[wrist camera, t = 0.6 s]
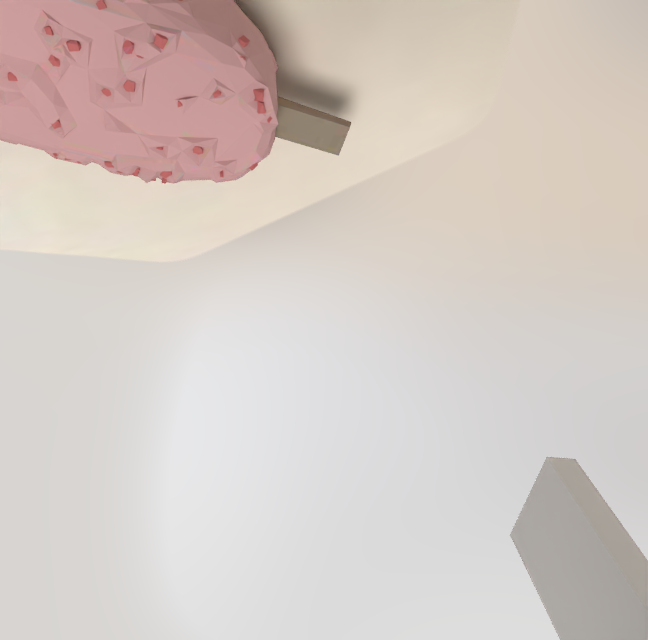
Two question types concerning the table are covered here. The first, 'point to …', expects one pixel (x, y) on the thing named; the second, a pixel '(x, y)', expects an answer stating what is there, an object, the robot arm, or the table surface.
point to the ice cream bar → (148, 88)
